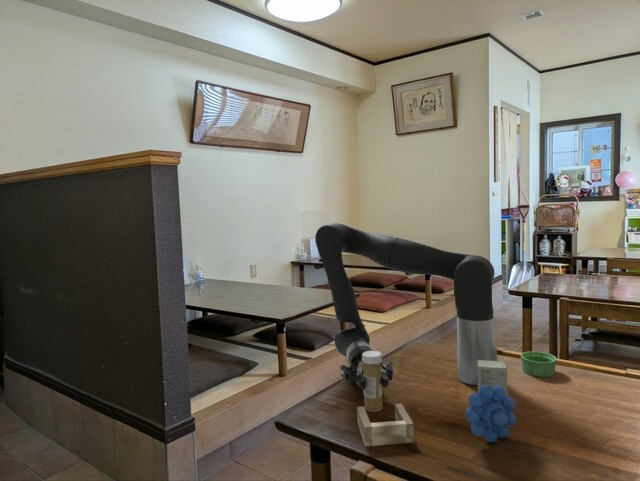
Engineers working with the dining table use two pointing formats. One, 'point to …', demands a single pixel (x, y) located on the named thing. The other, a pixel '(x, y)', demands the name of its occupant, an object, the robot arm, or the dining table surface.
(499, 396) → the blue bumpy cluster
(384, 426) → the pocket
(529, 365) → the ramekin
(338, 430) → the dining table surface
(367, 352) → the spice jar
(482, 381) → the skincare box
